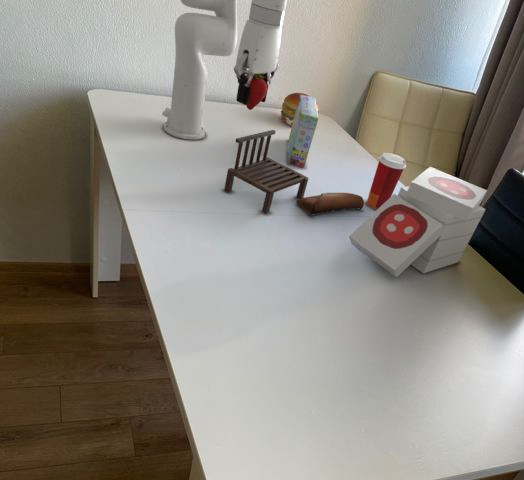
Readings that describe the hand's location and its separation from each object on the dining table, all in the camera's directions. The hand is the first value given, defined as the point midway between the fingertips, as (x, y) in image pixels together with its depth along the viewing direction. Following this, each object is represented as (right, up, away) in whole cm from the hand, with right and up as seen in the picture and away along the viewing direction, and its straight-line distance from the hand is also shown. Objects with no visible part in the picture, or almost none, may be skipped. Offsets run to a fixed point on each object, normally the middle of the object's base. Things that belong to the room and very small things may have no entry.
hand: (250, 100), depth 128 cm
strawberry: (0, -2, +1) cm, 2 cm away
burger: (+15, +22, +65) cm, 70 cm away
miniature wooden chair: (+3, -19, +13) cm, 23 cm away
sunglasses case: (+21, -21, +16) cm, 34 cm away
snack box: (+13, +2, +41) cm, 44 cm away
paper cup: (+35, -19, +24) cm, 46 cm away
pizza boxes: (+38, -37, +4) cm, 53 cm away
